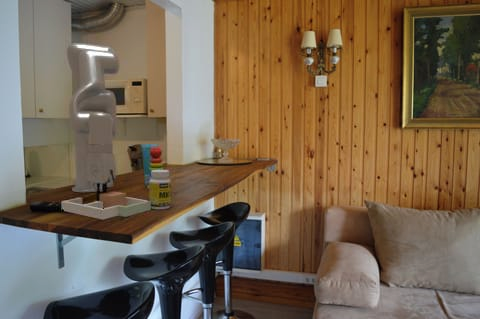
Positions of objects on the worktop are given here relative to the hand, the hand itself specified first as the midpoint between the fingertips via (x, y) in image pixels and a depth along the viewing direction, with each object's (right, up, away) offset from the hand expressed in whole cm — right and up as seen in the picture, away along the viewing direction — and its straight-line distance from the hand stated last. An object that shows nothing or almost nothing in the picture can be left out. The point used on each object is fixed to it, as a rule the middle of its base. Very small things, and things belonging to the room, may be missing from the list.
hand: (101, 202), depth 126 cm
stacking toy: (+12, +1, +33) cm, 35 cm away
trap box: (+3, -2, -5) cm, 7 cm away
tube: (+6, +3, +43) cm, 43 cm away
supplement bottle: (+20, -2, 0) cm, 20 cm away
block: (+5, -2, -2) cm, 6 cm away
